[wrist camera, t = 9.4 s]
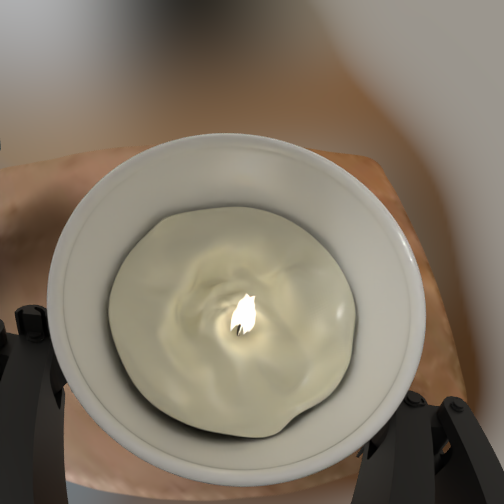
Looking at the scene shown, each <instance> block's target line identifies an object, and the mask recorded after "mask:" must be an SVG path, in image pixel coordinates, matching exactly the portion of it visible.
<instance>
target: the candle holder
mask: <svg viewBox="0 0 504 504" xmlns="http://www.w3.org/2000/svg"><path fill="white" fill-rule="evenodd" d="M47 316H48V325H49V331H50V336H51V340H52V344H53V348H54V351H55V354H56V357H57V360H58V363H59V365H60V368H61V370H62V372H63V375H64V377H65V379H66V381H67V383H68V385H69V386H70V388H71V390H72V392H73V393H74V395H75V396H76V398H77V399H78V401H79V402H80V404H81V405H82V406H83V408H84V409H85V410H86V412H87V413H88V414H89V415H90V417H91V418H92V419H93V420H94V421H95V422H96V423H97V424H98V425H99V426H100V427H101V428H102V429H103V430H104V431H105V432H106V433H107V434H108V435H109V436H110V437H111V438H112V439H114V440H115V441H116V442H117V443H119V444H120V445H121V446H122V447H124V448H125V449H127V450H128V451H129V452H131V453H132V454H134V455H136V456H137V457H139V458H141V459H142V460H144V461H146V462H148V463H150V464H151V465H153V466H155V467H158V468H160V469H162V470H164V471H167V472H169V473H172V474H174V475H177V476H180V477H183V478H187V479H190V480H194V481H198V482H203V483H208V484H214V485H222V486H236V487H251V486H265V485H273V484H279V483H284V482H288V481H293V480H296V479H300V478H303V477H306V476H309V475H312V474H314V473H317V472H319V471H322V470H324V469H326V468H328V467H330V466H332V465H334V464H336V463H338V462H340V461H341V460H343V459H345V458H346V457H348V456H349V455H351V454H352V453H354V452H355V451H356V450H358V449H359V448H360V447H362V446H363V445H364V444H365V443H367V442H368V441H369V440H370V439H371V438H372V437H373V436H374V435H375V434H376V433H377V432H378V431H379V430H380V429H381V428H382V427H383V426H384V425H385V424H386V423H387V422H388V420H389V419H390V418H391V417H392V415H393V414H394V413H395V411H396V410H397V408H398V407H399V405H400V404H401V402H402V401H403V399H404V397H405V395H406V394H407V392H408V390H409V388H410V386H411V383H412V381H413V379H414V376H415V374H416V371H417V368H418V365H419V362H420V358H421V354H422V350H423V344H424V338H425V328H426V305H425V295H424V289H423V283H422V279H421V275H420V271H419V268H418V265H417V262H416V259H415V256H414V254H413V252H412V249H411V247H410V245H409V243H408V241H407V239H406V237H405V235H404V233H403V232H402V230H401V228H400V227H399V225H398V224H397V222H396V221H395V219H394V218H393V216H392V215H391V214H390V212H389V211H388V210H387V208H386V207H385V206H384V205H383V204H382V203H381V201H380V200H379V199H378V198H377V197H376V196H375V195H374V194H373V193H372V192H371V191H370V190H369V189H368V188H367V187H366V186H365V185H363V184H362V183H361V182H360V181H359V180H358V179H356V178H355V177H354V176H352V175H351V174H350V173H348V172H347V171H345V170H344V169H343V168H341V167H340V166H338V165H336V164H335V163H333V162H331V161H330V160H328V159H326V158H324V157H322V156H320V155H318V154H316V153H314V152H312V151H309V150H307V149H305V148H302V147H299V146H297V145H294V144H291V143H287V142H284V141H281V140H276V139H273V138H268V137H263V136H256V135H248V134H235V133H234V134H233V133H217V134H205V135H196V136H191V137H185V138H181V139H177V140H173V141H169V142H166V143H163V144H160V145H158V146H155V147H152V148H150V149H148V150H145V151H143V152H141V153H139V154H137V155H135V156H133V157H132V158H130V159H128V160H127V161H125V162H123V163H122V164H120V165H119V166H117V167H116V168H115V169H113V170H112V171H111V172H109V173H108V174H107V175H106V176H104V177H103V178H102V179H101V180H100V181H99V182H98V183H97V184H96V185H95V186H94V187H93V188H92V189H91V190H90V191H89V192H88V193H87V194H86V195H85V197H84V198H83V199H82V200H81V202H80V203H79V204H78V206H77V207H76V208H75V210H74V211H73V213H72V214H71V216H70V218H69V219H68V221H67V223H66V225H65V227H64V229H63V231H62V233H61V235H60V238H59V240H58V243H57V245H56V248H55V251H54V254H53V258H52V262H51V266H50V271H49V277H48V285H47ZM352 350H353V352H354V354H352Z"/></svg>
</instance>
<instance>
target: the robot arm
mask: <svg viewBox="0 0 504 504" xmlns="http://www.w3.org/2000/svg"><path fill="white" fill-rule="evenodd" d="M0 149H1V143H0ZM15 318H16V323H17V328H18V333H19V335H16V334H11V333H7V332H6V330H5V326H4V323H3V321H2V320H1V319H0V504H68V498H67V490H66V480H65V467H64V405H65V392H64V388H63V386H64V385H65V384H66V383H67V381H66V379H65V377H64V375H63V372H62V370H61V368H60V365H59V363H58V360H57V357H56V354H55V351H54V348H53V344H52V340H51V336H50V331H49V325H48V316H47V309H46V308H44V307H42V306H39V305H26V306H22V307H20V308H18V309H17V310H16V311H15ZM352 354H354V352H353V350H352ZM71 392H72V390H71ZM448 441H449V442H450V445H451V447H450V448H449V450H448V451H447V452H446V453H445V454H444V452H443V450H442V449H443V447H444V446H445V445H446V444H447V443H448ZM362 453H363V457H362V462H361V466H360V471H359V475H358V479H357V483H356V487H355V491H354V494H353V498H352V502H351V504H504V471H503V469H502V467H501V464H500V463H499V460H498V458H497V456H496V454H495V452H494V450H493V448H492V446H491V445H490V443H489V441H488V439H487V437H486V435H485V433H484V432H483V430H482V428H481V426H480V425H479V423H478V421H477V419H476V418H475V416H474V414H473V413H472V411H471V409H470V408H469V406H468V405H467V404H466V402H464V401H463V400H462V399H461V398H458V397H453V396H450V397H446V398H445V399H444V401H443V402H442V404H441V405H440V406H432V405H428V404H427V402H426V400H425V399H424V398H423V397H422V396H421V395H420V394H418V393H416V392H413V391H408V392H407V394H406V395H405V397H404V399H403V401H402V402H401V404H400V405H399V407H398V408H397V410H396V411H395V413H394V414H393V415H392V417H391V418H390V419H389V420H388V422H387V423H386V424H385V425H384V426H383V427H382V428H381V429H380V430H379V431H378V432H377V433H376V434H375V435H374V436H373V437H372V438H371V439H370V440H369V441H368V442H367V443H365V444H364V446H363V447H362V448H361V450H360V451H359V452H358V454H357V456H356V457H359V456H360V455H361V454H362Z"/></svg>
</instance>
